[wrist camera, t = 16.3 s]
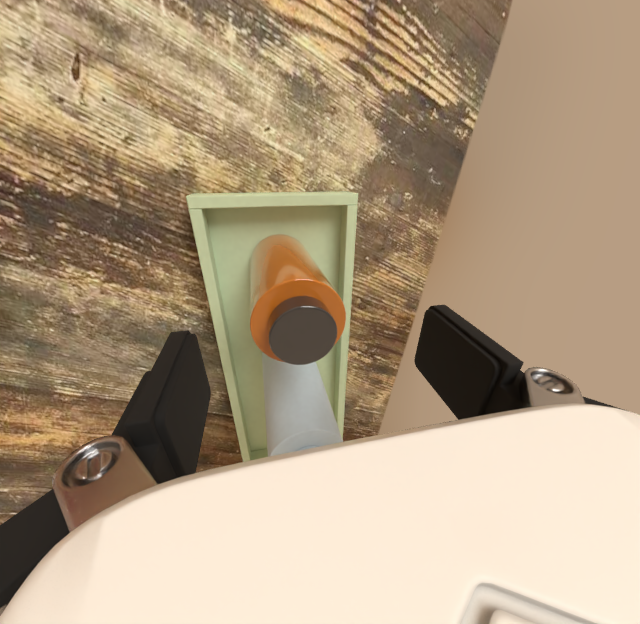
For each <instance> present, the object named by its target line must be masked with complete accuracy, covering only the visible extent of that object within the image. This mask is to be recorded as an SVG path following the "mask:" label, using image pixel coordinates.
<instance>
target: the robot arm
mask: <svg viewBox="0 0 640 624" xmlns="http://www.w3.org/2000/svg"><path fill="white" fill-rule="evenodd" d="M415 365H416V367H417V368H418V370H419V371H420V372H421V373H422V375H423V376H424V377H425V378H426V380H427V381H428V382H429V383H430V385H431V386H432V387H433V388H434V390H435V391H436V392H437V393H438V395H439V396H440V397H441V398H442V400H443V401H444V402H445V403H446V405H447V406H448V407H449V408H450V410H451V411H452V412H453V413H454V415H455V416H456V417H457V418H458V420H455V421H449V422H445V423H439V424H433V425H429V426H423V427H418V428H413V429H407V430H402V431H397V432H391V433H386V434H381V435H376V436H371V437H366V438H360V439H355V440H350V441H345V442H340V443H335V444H330V445H325V446H320V447H315V448H310V449H305V450H300V451H295V452H289V453H284V454H279V455H274V456H269V457H264V458H260V459H255V460H251V461H246V462H241V463H237V464H232V465H227V466H223V467H218V468H213V469H209V470H205V471H201V472H198V473H195V472H196V467H197V462H198V457H199V452H200V447H201V442H202V437H203V432H204V427H205V421H206V416H207V411H208V406H209V401H210V386H209V382H208V378H207V375H206V371H205V367H204V363H203V359H202V356H201V352H200V348H199V344H198V340H197V337H196V335H195V334H191V333H190V332H189V331H179V332H171V333H170V335H169V337H168V339H167V341H166V343H165V345H164V347H163V349H162V351H161V353H160V355H159V356H158V358H157V360H156V362H155V364H154V366H153V368H152V370H151V371H148V372H146V373H145V374H144V376H143V377H142V379H141V381H140V383H139V385H138V387H137V389H136V390H135V392H134V394H133V396H132V398H131V400H130V402H129V404H128V405H127V407H126V409H125V411H124V413H123V415H122V417H121V418H120V420H119V422H118V424H117V426H116V428H115V430H114V431H113V433H112V435H111V436H104V437H100V438H97V439H94V440H92V441H90V442H88V443H86V444H84V445H82V446H81V447H79V448H78V449H76V450H75V451H73V452H72V453H71V454H70V455H69V456H68V457H67V458H66V459H65V460H64V461H63V462H62V463H61V464H60V466H59V467H58V468H57V470H56V472H55V474H54V477H53V479H52V483H53V489H52V490H51V491H49V492H48V493H46V494H45V495H44V496H42V497H41V498H39V499H38V500H36V501H35V502H33V503H32V504H31V505H29V506H28V507H26V508H25V509H23V510H22V511H20V512H19V513H18V514H16V515H15V516H13V517H12V518H10V519H9V520H7V521H6V522H5V523H3V524H2V525H0V624H640V415H639V414H636V413H632V412H629V411H626V410H623V409H620V408H616V407H613V406H611V405H607V404H604V403H601V402H598V401H595V400H592V399H588V398H586V397H582V395H581V392H580V390H579V388H578V387H577V385H576V384H575V383H573V381H571V380H570V379H569V378H567V377H565V376H564V375H562V374H559V373H558V372H555V371H552V370H549V369H546V368H540V367H533V368H528V369H527V370H526V371H525V373H523V372H522V371H520V369H521V367H522V365H523V362H522V361H520V360H519V359H518V358H517V357H515V356H514V355H512V354H511V353H510V352H509V351H507V350H506V349H504V348H503V347H502V346H500V345H499V344H498V343H496V342H495V341H494V340H492V339H491V338H489V337H488V336H487V335H485V334H484V333H483V332H481V331H480V330H479V329H477V328H476V327H474V326H473V325H472V324H470V323H469V322H468V321H466V320H465V319H464V318H462V317H461V316H460V315H458V314H457V313H455V312H454V311H453V310H451V309H450V308H449V307H447V306H446V305H437V306H431V307H430V308H429V309H428V310H426V312H425V315H424V319H423V324H422V328H421V333H420V337H419V342H418V346H417V351H416V355H415Z"/></svg>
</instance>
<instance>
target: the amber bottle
mask: <svg viewBox="0 0 640 624" xmlns="http://www.w3.org/2000/svg"><path fill="white" fill-rule="evenodd" d="M345 322H346V311H345V307H344V304H343V301H342V299H341V298H340V296H339V295H338V293H337V292H336V291H335V289H334V288H333V286H332V285H331V284H330V282H329V281H328V279H327V278H326V276H325V275H324V274H323V272H322V271H321V269H320V268H319V267H318V265H317V264H316V262H315V261H314V260H313V258H312V257H311V255H310V254H309V253H308V251H307V250H306V248H305V247H304V246H303V244H302V243H301V242H300V241H298V240H297V239H295V238H294V237H292V236H289V235H284V234H276V235H271V236H268V237H266V238H264V239H263V240H261V241H260V242H259V243H258V244H257V245H256V247H255V248H254V250H253V252H252V255H251V260H250V331H251V335H252V338H253V340H254V342H255V344H256V345H257V346H258V348H259V349H260V350H261V351H262V352H263V353H264V354H266V355H267V356H269V357H271V358H273V359H275V360H278V361H281V362H286V363H289V364H293V365H306V364H310V363H313V362H316V361H318V360H320V359H321V358H323V357H324V356H325V355H327V354H328V353H329V352H330V350H331V349H332V348H333V346H334V345H335V344H336V343H337V341H338V340H339V339H340V337H341V335H342V333H343V330H344V327H345Z"/></svg>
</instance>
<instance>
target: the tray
mask: <svg viewBox="0 0 640 624" xmlns="http://www.w3.org/2000/svg"><path fill="white" fill-rule="evenodd" d="M186 200H187V204H188V208H189V214H190V218H191V223H192V228H193V232H194V237H195V242H196V246H197V251H198V256H199V260H200V265H201V269H202V274H203V279H204V283H205V288H206V293H207V297H208V302H209V306H210V311H211V316H212V320H213V325H214V330H215V334H216V339H217V344H218V348H219V353H220V357H221V362H222V367H223V371H224V376H225V381H226V385H227V390H228V394H229V399H230V404H231V408H232V413H233V418H234V422H235V427H236V432H237V436H238V441H239V445H240V450H241V455H242V459H243V462H246V461H251V460H255V459H260V458H264V457H268V450H267V434H266V417H265V400H264V384H263V367H262V351H261V350H260V349H259V348H258V346H257V345H256V344H255V342H254V340H253V338H252V335H251V331H250V260H251V255H252V252H253V250H254V248H255V247H256V245H257V244H258V243H259V242H260V241H261V240H263V239H264V238H266V237H268V236H271V235H276V234H284V235H289V236H292V237H294V238H295V239H297V240H298V241H300V242H301V243H302V244H303V246H304V247H305V248H306V250H307V251H308V253H309V254H310V255H311V257H312V258H313V260H314V261H315V262H316V264H317V265H318V267H319V268H320V269H321V271H322V272H323V274H324V275H325V276H326V278H327V279H328V281H329V282H330V284H331V285H332V286H333V288H334V289H335V291H336V292H337V293H338V295H339V296H340V298H341V299H342V301H343V304H344V307H345V311H346V322H345V327H344V330H343V333H342V335H341V337H340V339H339V340H338V341H337V343H336V344H335V345H334V346H333V348H332V349H331V350H330V352H329V353H328V354H327V355H325V356H324V357H323V358H321V359H320V360H318V361H316V364H317V366H318V369H319V372H320V375H321V378H322V381H323V384H324V387H325V390H326V393H327V396H328V399H329V402H330V404H331V407H332V410H333V413H334V416H335V419H336V422H337V425H338V428H339V431H340V434H341V437H342V440H343V425H344V409H345V393H346V377H347V362H348V346H349V330H350V315H351V299H352V283H353V267H354V252H355V236H356V220H357V203H358V193H354V192H349V191H343V192H269V193H195V194H190V195H188V196H186Z"/></svg>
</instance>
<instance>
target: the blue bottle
mask: <svg viewBox="0 0 640 624" xmlns="http://www.w3.org/2000/svg"><path fill="white" fill-rule="evenodd" d="M262 367H263V384H264V400H265V417H266V434H267V450H268V457H269V456H274V455H279V454H284V453H289V452H295V451H300V450H305V449H310V448H315V447H320V446H325V445H330V444H335V443H340V442H343V440H342V437H341V434H340V431H339V428H338V425H337V422H336V419H335V416H334V413H333V410H332V407H331V404H330V402H329V399H328V396H327V393H326V390H325V387H324V384H323V381H322V378H321V375H320V372H319V369H318V366H317V364H316V362H313V363H310V364H306V365H293V364H289V363H286V362H281V361H278V360H275V359H273V358H271V357H269V356H267V355H266V354H264V353H263V352H262Z"/></svg>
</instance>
